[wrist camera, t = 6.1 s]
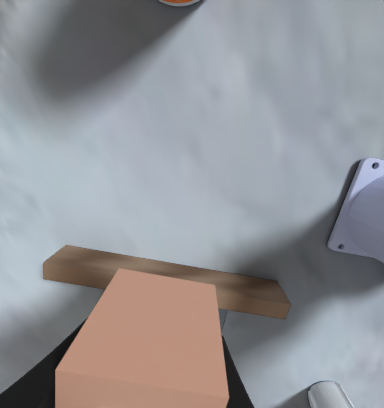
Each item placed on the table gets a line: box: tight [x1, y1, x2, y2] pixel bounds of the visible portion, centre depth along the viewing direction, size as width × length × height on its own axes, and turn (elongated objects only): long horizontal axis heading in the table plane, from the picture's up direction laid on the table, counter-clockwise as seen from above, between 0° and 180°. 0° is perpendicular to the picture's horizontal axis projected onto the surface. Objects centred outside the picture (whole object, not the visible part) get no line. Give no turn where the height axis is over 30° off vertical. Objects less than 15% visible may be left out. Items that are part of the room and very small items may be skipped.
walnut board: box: [43, 245, 291, 319], centre depth 18 cm, size 20×2×3 cm, turn 80°
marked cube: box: [55, 268, 229, 408], centre depth 9 cm, size 5×5×5 cm
